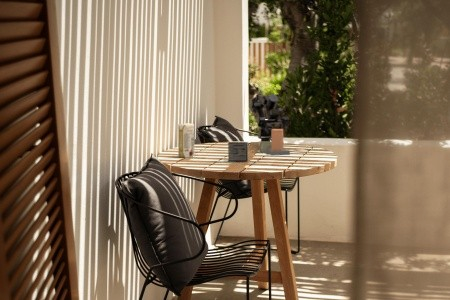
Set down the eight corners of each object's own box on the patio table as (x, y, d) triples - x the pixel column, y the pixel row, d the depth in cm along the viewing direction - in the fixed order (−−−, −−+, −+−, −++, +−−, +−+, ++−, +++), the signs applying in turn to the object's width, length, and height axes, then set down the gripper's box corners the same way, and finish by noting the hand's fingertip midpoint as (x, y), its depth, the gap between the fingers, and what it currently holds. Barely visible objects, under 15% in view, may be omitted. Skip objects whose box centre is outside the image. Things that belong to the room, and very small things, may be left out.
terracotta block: (273, 148, 467) (273, 128, 465) (283, 149, 465) (283, 129, 464) (271, 150, 461) (271, 130, 459) (281, 150, 460) (281, 130, 458)
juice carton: (196, 156, 451) (196, 123, 449) (185, 158, 445) (185, 124, 443) (187, 155, 457) (186, 122, 454) (176, 156, 450) (176, 124, 448)
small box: (247, 160, 437) (248, 141, 436) (247, 162, 431) (247, 143, 429) (229, 160, 438) (229, 141, 437) (227, 161, 432) (227, 142, 430)
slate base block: (265, 153, 467) (265, 148, 467) (283, 153, 470) (283, 148, 470) (272, 156, 457) (272, 151, 456) (289, 155, 460) (289, 150, 459)
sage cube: (259, 151, 475) (259, 141, 474) (268, 151, 477) (268, 141, 476) (262, 152, 469) (262, 142, 469) (271, 152, 471) (271, 142, 470)
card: (290, 150, 479) (290, 149, 479) (303, 149, 481) (303, 149, 481) (295, 151, 472) (295, 151, 472) (307, 151, 474) (307, 150, 474)
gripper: (258, 104, 466) (263, 124, 457) (288, 103, 470) (294, 123, 461) (255, 116, 475) (259, 136, 466) (284, 115, 479) (289, 135, 470)
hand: (276, 132), depth 465 cm, fingers open, 9 cm apart
